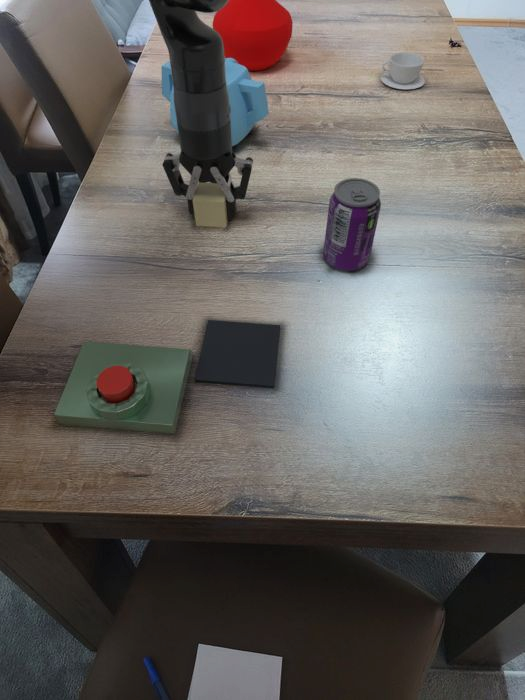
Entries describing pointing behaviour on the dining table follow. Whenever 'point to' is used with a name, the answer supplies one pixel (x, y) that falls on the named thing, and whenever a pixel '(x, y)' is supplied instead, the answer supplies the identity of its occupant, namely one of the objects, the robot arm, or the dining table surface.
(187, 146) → the robot arm
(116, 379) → the switch
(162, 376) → the switch base
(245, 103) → the teapot
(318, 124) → the dining table surface
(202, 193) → the block
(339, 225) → the beverage can
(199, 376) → the mat
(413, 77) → the teacup
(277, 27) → the vase
